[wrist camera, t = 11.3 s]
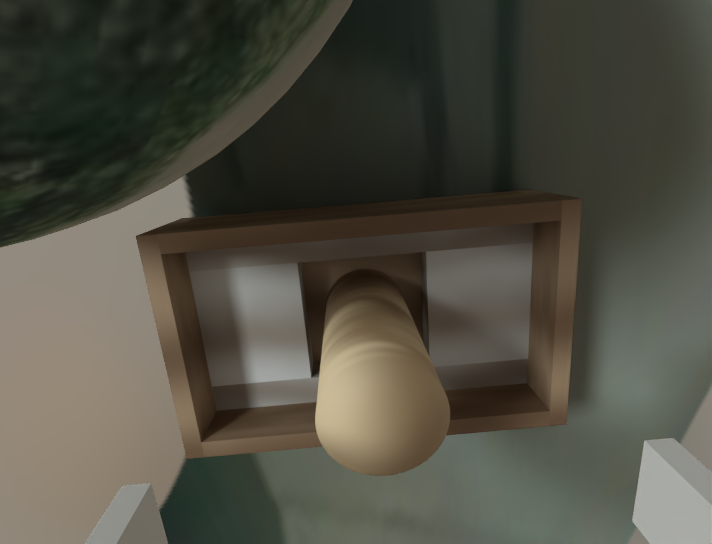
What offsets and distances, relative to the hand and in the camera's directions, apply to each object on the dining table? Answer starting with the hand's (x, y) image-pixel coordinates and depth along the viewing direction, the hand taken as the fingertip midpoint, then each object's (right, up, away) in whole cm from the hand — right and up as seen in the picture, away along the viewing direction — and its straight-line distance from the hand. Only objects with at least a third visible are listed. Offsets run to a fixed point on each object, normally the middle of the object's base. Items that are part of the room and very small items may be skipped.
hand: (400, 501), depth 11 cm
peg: (-1, +4, +16) cm, 16 cm away
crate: (-1, +4, +17) cm, 17 cm away
